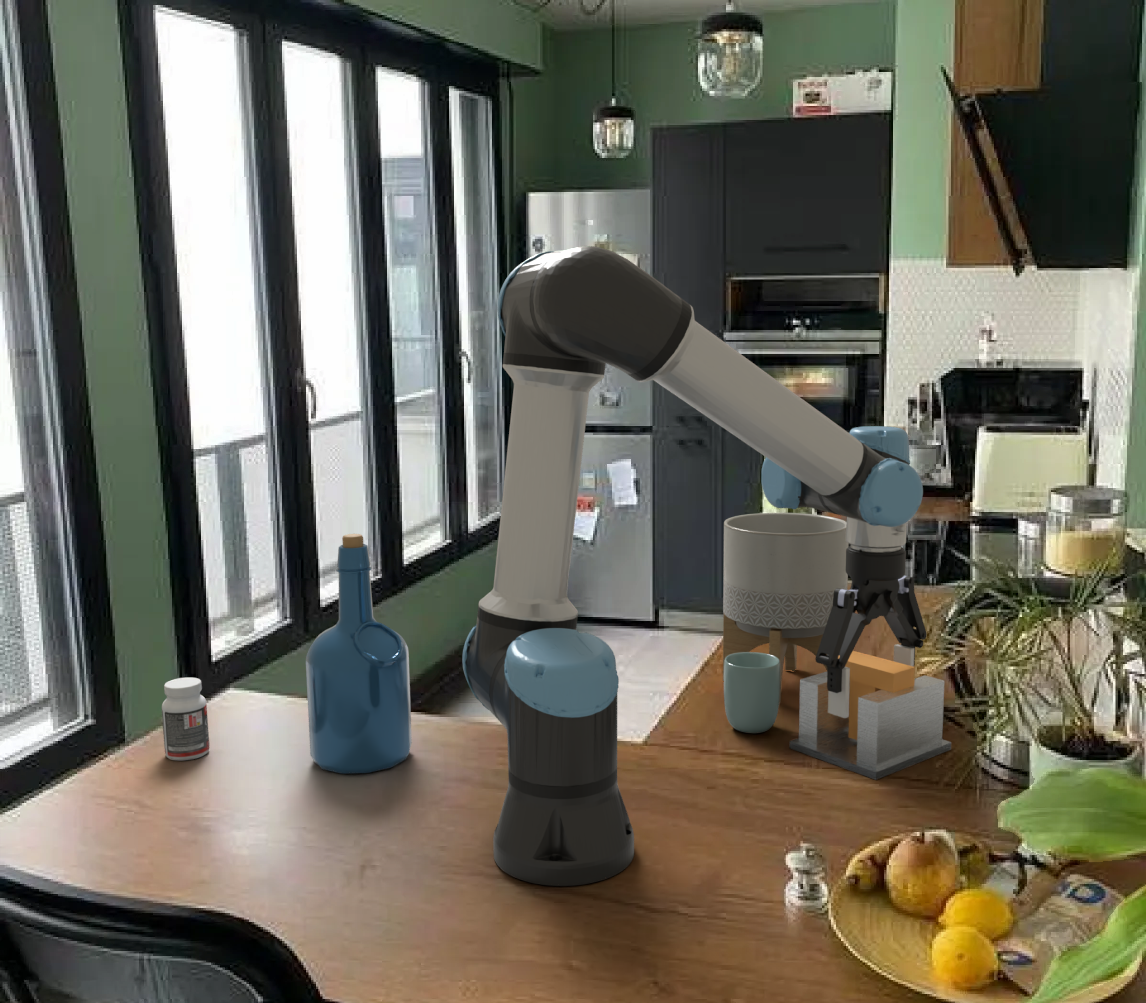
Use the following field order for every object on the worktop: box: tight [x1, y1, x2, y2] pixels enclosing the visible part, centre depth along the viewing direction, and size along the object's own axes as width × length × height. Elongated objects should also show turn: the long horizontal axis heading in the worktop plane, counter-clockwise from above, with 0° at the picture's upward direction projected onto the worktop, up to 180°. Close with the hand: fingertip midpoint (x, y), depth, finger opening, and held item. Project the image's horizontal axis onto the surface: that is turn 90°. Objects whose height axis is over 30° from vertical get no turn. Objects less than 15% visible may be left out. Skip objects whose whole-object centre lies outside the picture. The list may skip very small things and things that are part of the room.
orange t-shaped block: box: [838, 650, 916, 740], centre depth 150 cm, size 4×10×10 cm, turn 38°
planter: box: [722, 512, 850, 705], centre depth 176 cm, size 19×19×26 cm
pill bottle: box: [161, 677, 210, 762], centre depth 151 cm, size 6×6×10 cm
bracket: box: [788, 671, 952, 781], centre depth 150 cm, size 16×14×10 cm
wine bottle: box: [305, 533, 413, 775], centre depth 148 cm, size 14×13×30 cm
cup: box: [723, 651, 780, 734], centre depth 158 cm, size 8×8×10 cm
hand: (871, 704), depth 150 cm, fingers open, 13 cm apart
